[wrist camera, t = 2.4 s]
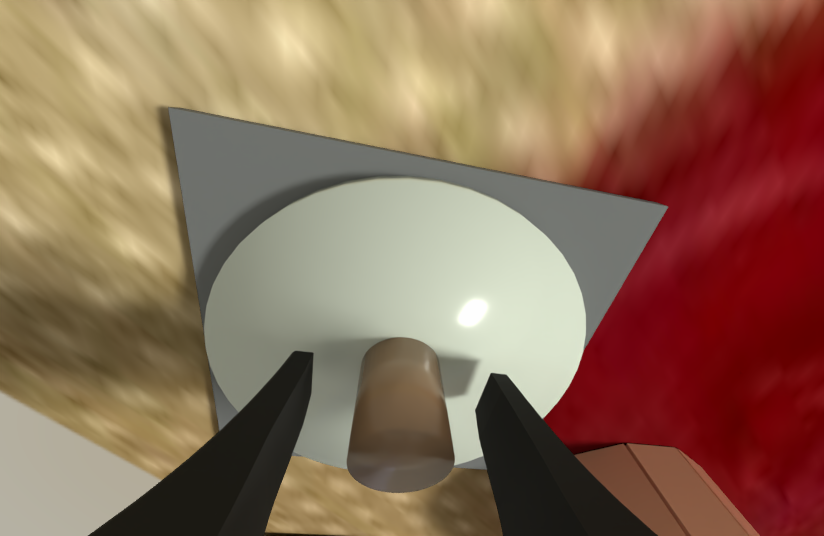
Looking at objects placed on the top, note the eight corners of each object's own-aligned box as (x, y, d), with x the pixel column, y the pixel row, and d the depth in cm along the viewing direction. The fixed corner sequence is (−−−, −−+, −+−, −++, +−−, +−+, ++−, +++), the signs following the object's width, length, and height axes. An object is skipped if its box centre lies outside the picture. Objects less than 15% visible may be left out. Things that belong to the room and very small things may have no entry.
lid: (233, 446, 14) (172, 566, 11) (190, 132, 8) (5, 148, 4) (507, 465, 16) (541, 575, 12) (645, 217, 10) (802, 282, 6)
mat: (228, 440, 15) (222, 450, 15) (180, 108, 8) (168, 107, 8) (509, 462, 17) (512, 471, 16) (656, 202, 10) (668, 206, 10)
